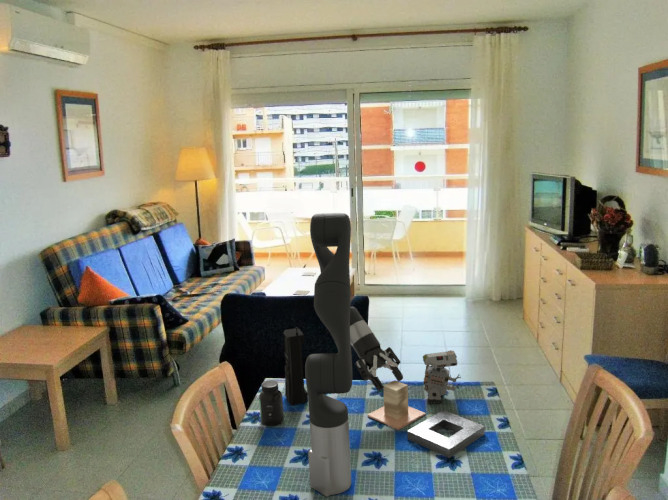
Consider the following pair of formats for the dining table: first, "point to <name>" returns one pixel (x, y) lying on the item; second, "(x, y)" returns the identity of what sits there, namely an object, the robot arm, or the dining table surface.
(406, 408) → the beech peg
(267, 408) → the supplement bottle
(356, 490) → the dining table surface
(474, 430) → the socket block
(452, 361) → the figurine
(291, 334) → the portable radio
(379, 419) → the terracotta tile
